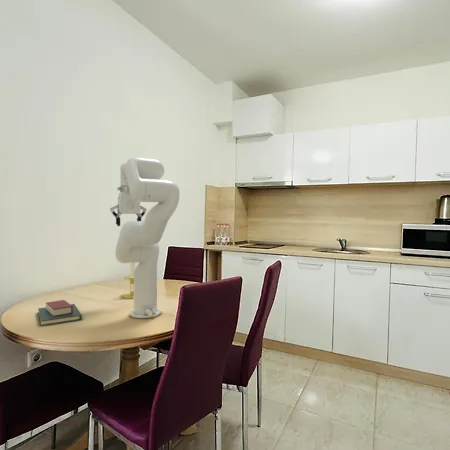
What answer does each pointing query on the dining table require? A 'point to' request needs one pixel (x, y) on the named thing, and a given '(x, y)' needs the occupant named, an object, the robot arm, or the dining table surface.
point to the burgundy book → (59, 308)
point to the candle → (131, 281)
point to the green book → (58, 317)
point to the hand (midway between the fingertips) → (128, 225)
